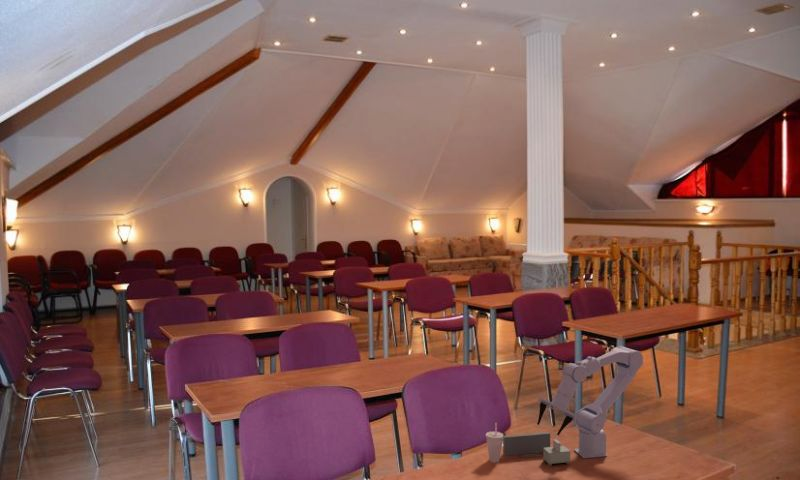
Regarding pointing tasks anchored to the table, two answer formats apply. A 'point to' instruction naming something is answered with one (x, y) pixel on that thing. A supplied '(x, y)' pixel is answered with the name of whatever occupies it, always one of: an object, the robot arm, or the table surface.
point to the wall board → (525, 444)
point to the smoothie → (494, 445)
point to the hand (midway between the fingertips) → (547, 429)
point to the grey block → (556, 454)
